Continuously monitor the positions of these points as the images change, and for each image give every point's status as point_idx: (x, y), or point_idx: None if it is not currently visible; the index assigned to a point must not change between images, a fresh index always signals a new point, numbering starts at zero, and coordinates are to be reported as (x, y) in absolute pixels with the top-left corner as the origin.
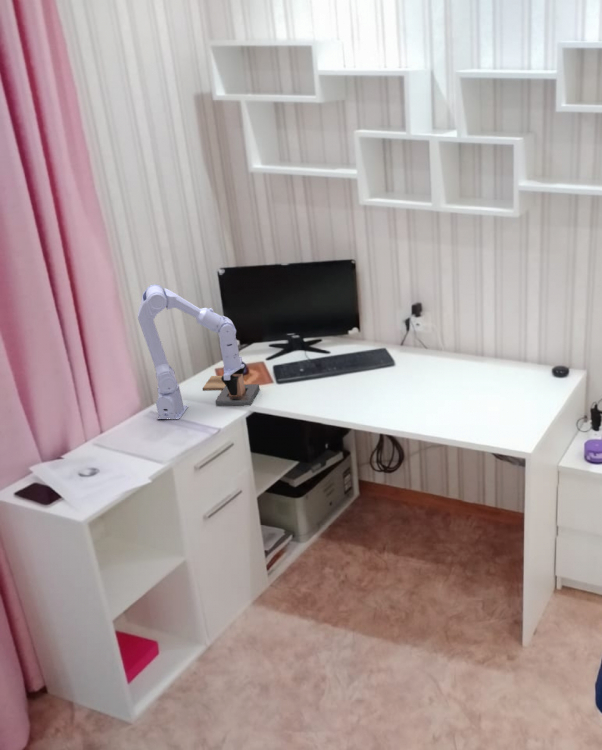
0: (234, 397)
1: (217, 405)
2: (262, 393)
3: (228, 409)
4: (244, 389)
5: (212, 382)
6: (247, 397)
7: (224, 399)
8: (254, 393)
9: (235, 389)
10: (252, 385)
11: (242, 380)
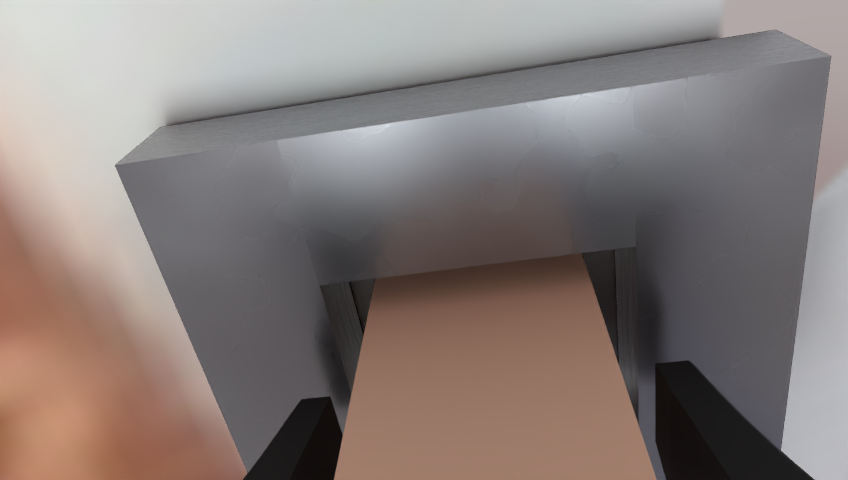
0: None
1: None
2: (259, 20)
3: (837, 320)
4: (403, 321)
5: None
6: (684, 149)
7: None
8: (438, 105)
9: (760, 447)
10: (195, 259)
11: (409, 469)
